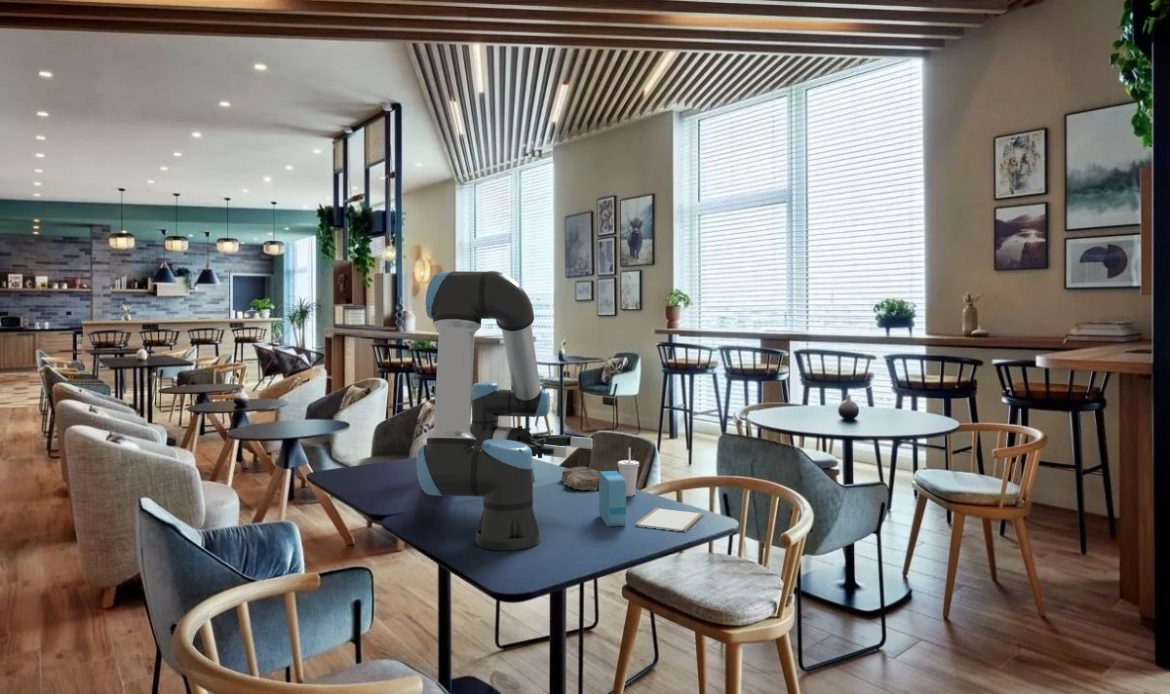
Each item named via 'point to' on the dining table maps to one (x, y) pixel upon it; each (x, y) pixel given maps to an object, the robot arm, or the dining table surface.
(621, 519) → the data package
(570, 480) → the flat brown rock
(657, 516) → the mat
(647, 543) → the dining table surface
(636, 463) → the smoothie
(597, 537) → the dining table surface
